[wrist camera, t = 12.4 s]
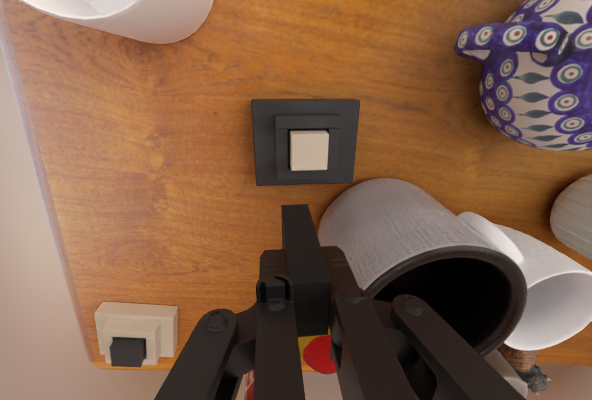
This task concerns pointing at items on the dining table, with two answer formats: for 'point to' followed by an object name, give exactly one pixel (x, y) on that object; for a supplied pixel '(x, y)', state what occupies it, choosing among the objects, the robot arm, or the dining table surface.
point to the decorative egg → (317, 352)
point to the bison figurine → (525, 367)
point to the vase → (574, 216)
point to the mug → (541, 286)
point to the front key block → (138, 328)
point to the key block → (303, 117)
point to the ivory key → (308, 150)
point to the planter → (426, 259)
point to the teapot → (537, 73)
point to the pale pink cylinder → (132, 16)
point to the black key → (127, 352)
